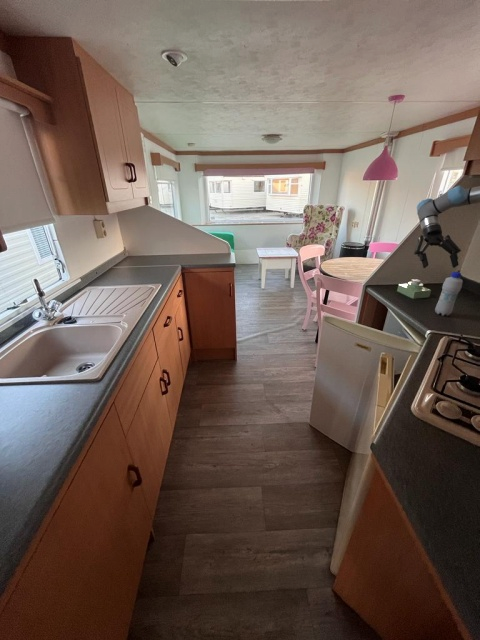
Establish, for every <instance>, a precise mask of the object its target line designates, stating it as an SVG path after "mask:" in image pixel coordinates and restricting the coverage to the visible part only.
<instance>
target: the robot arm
mask: <svg viewBox="0 0 480 640" xmlns="http://www.w3.org/2000/svg"><path fill="white" fill-rule="evenodd" d="M474 204H480V185H478V186H474V187H469V188H464V187H463V186H462V185H457V186H455V187H453V188H450V189H449V190H447V191H446V192H444V193H443V194H441V195H439V196H437V197H436V198H434V199H433V198H426V199H422V200H421V201H420V202H419V203H418V204H417V206H416V211H417V213H416V214H417V216H418V220H419V225H420V229H421V231H422V234H420V236H418V238H417V244H416V245H415V248H414V252H413V255H416V256H417V257H418V258H419V261H420V262H421V265H422V268H423V269H426V268H427V267H428V266H429V261H428V256H427V253H426V252H425V251H426V250H427V249H428V247H429V246H431V247H432V246H436V247H439V248H441V249H443V250H444V251H446V252H447V253H448V254H449V258H450V262H451V266H452V268H453V269H455V268H456V267H458V266H459V264H460V263H459V256H458V254H459V253H460V252H461V251H462V250H461V248H460V247H459V246H458V245H457V244H456V243H455V242H454V240H452V237H451V236H450V235H449V234H447V235H446V236H443V229H442V226H441V222H440V219H439V215H440V214H442V213H444V212H446V211H448V210H450V209H451V208H455V207H457V208H459V207H463V206H470V205H474ZM424 242H425V244H424V246H422V245H423V243H424Z"/></svg>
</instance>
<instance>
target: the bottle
mask: <svg viewBox="0 0 480 640" xmlns="http://www.w3.org/2000/svg"><path fill="white" fill-rule="evenodd" d="M461 276H462V273H461V272H460V271H453V272H451V274H450V276H448V277H446V278H445V280H444V282H443V284H442V286H441V288H442V290H441V293H440V295H439V298H438V301H437V303H436V305H435V308H434V312H435V314H437V315H439V316H440V314H441V316H443V317H444V316H445V317H448V316H450V315H451V314H452V313H453V310H454V307H455V303H456V302H457V301H456V300H457V298H458V295H459V293H460V291H461V289H462V288H463V281H464V280H463V279H462V278H461Z"/></svg>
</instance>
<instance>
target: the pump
mask: <svg viewBox="0 0 480 640" xmlns="http://www.w3.org/2000/svg"><path fill="white" fill-rule="evenodd" d="M410 282H411V284H413V285H420V283H422V280H420V279H416V278H413V279H411V281H410Z"/></svg>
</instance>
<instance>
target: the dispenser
mask: <svg viewBox="0 0 480 640" xmlns="http://www.w3.org/2000/svg"><path fill="white" fill-rule="evenodd" d="M411 282H412V281H408V282H407V283H401V284H400V283H399V284H398V286H397V289H396V292H398V293H399V294H401V295H404V296H406V297H408V298H411V299H412V300H414V299H424V298H430V296H431V293H432V290H431V289H430V288H427V287H424V284H423V283H422V282H420V285H413V284H411Z"/></svg>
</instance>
